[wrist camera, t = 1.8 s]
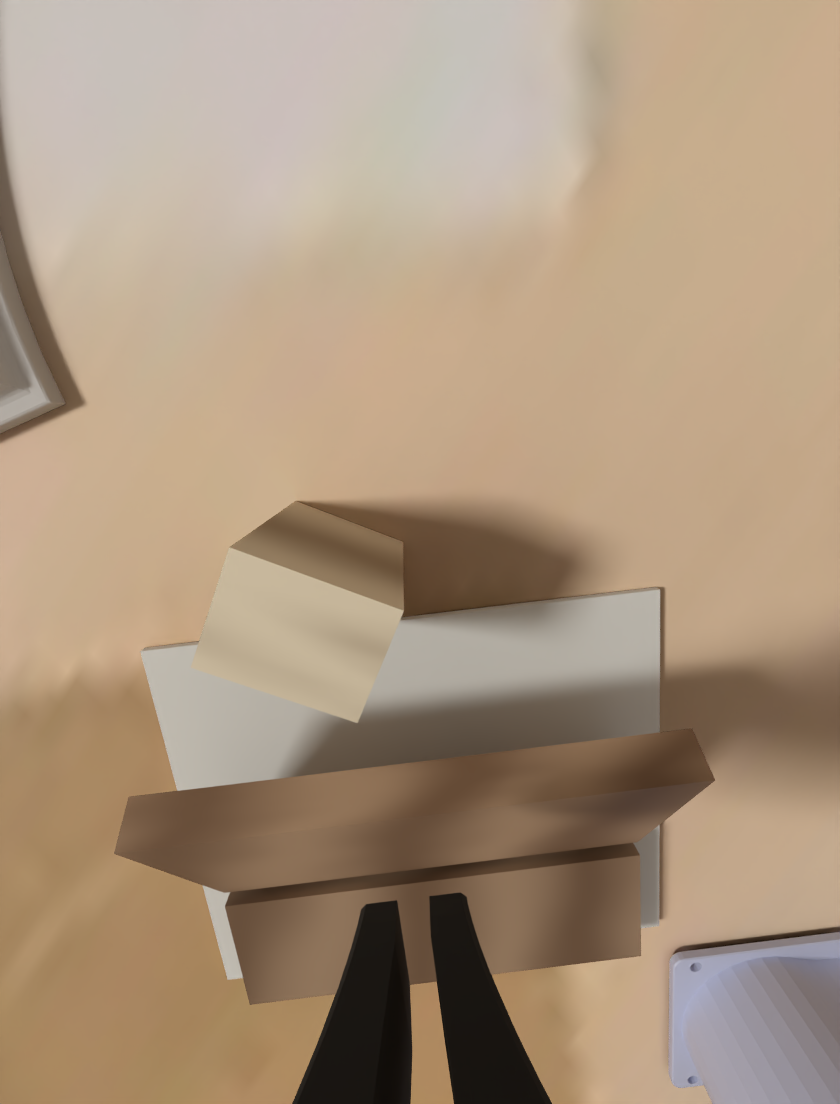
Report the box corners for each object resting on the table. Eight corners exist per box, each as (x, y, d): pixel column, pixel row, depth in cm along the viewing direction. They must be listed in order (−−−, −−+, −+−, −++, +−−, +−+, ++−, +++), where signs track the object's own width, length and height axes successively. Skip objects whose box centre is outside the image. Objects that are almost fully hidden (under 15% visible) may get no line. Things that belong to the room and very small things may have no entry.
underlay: (656, 587, 19) (660, 589, 19) (655, 919, 23) (659, 926, 22) (144, 647, 19) (140, 651, 18) (230, 972, 22) (227, 979, 22)
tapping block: (269, 578, 18) (295, 500, 18) (373, 616, 19) (403, 541, 18) (190, 668, 12) (229, 547, 11) (357, 723, 12) (404, 610, 11)
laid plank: (623, 825, 21) (640, 855, 20) (625, 921, 22) (641, 955, 21) (236, 873, 21) (224, 906, 19) (259, 966, 22) (249, 1004, 21)
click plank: (692, 728, 14) (715, 780, 14) (624, 803, 21) (637, 841, 20) (128, 796, 14) (114, 853, 13) (229, 851, 20) (224, 893, 20)
